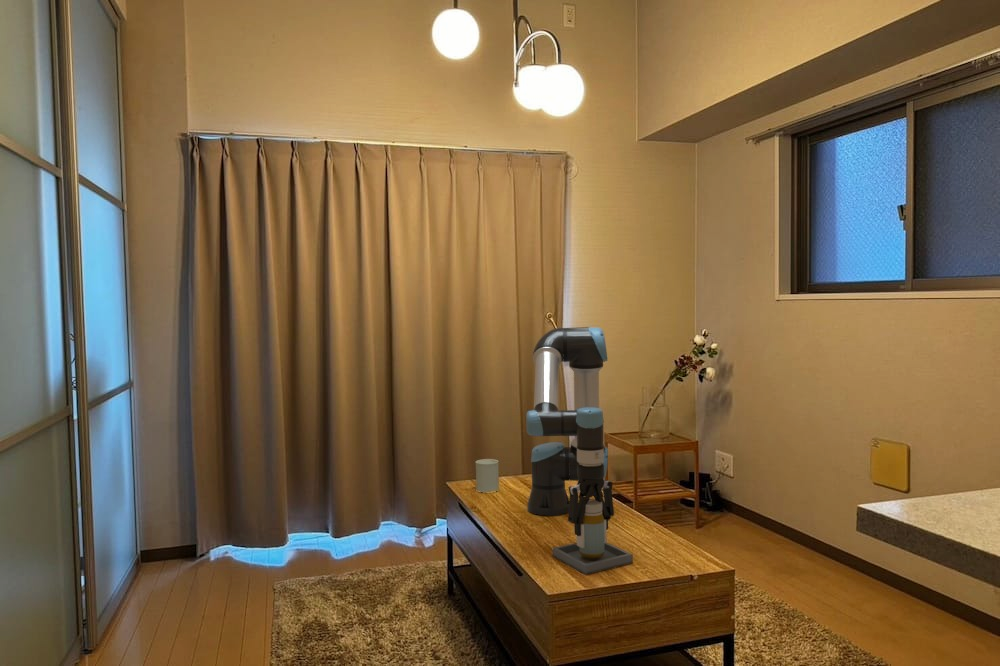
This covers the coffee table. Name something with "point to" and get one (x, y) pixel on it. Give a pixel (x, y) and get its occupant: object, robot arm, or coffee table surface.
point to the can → (487, 475)
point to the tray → (589, 565)
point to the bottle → (593, 530)
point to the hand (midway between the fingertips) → (591, 543)
